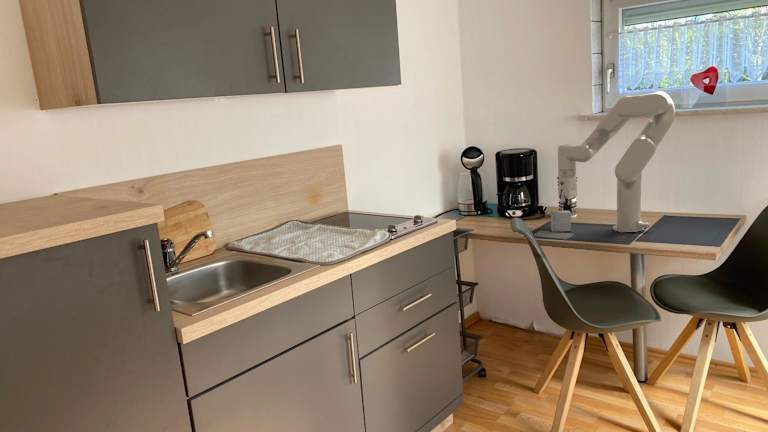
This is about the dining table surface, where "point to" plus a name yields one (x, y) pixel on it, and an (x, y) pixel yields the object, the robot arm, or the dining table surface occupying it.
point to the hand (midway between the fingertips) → (567, 213)
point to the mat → (553, 235)
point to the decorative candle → (571, 204)
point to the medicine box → (560, 221)
